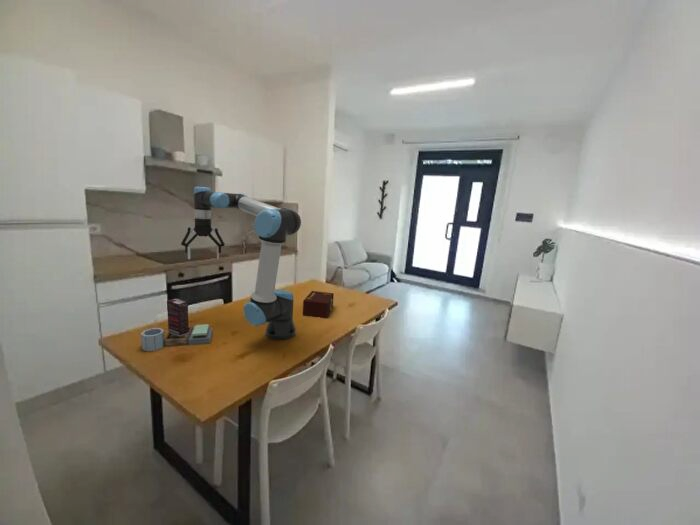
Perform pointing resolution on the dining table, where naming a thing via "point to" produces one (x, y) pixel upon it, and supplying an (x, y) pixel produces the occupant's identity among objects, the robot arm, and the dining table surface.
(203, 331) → the mint green block
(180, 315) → the supplement box
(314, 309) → the box
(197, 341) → the blue-grey rectangular tray
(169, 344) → the brown wooden tray
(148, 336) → the cup
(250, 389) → the dining table surface
